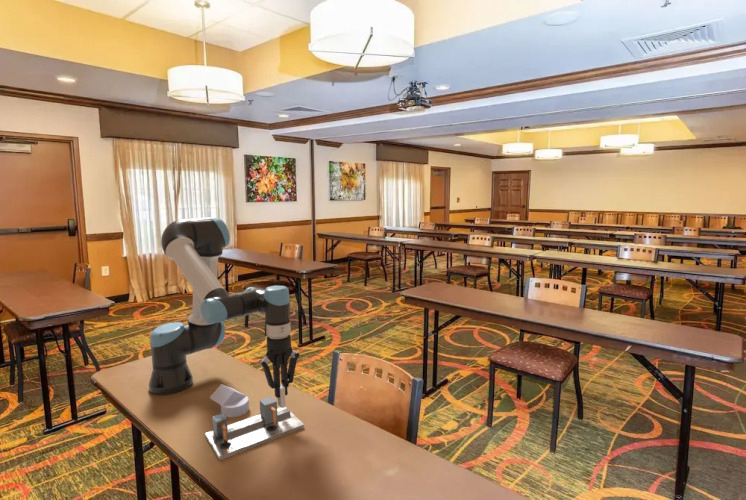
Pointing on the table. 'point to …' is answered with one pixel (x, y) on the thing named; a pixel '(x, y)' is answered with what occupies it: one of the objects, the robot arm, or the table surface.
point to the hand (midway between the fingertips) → (281, 405)
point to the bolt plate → (249, 432)
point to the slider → (269, 410)
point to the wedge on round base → (231, 401)
